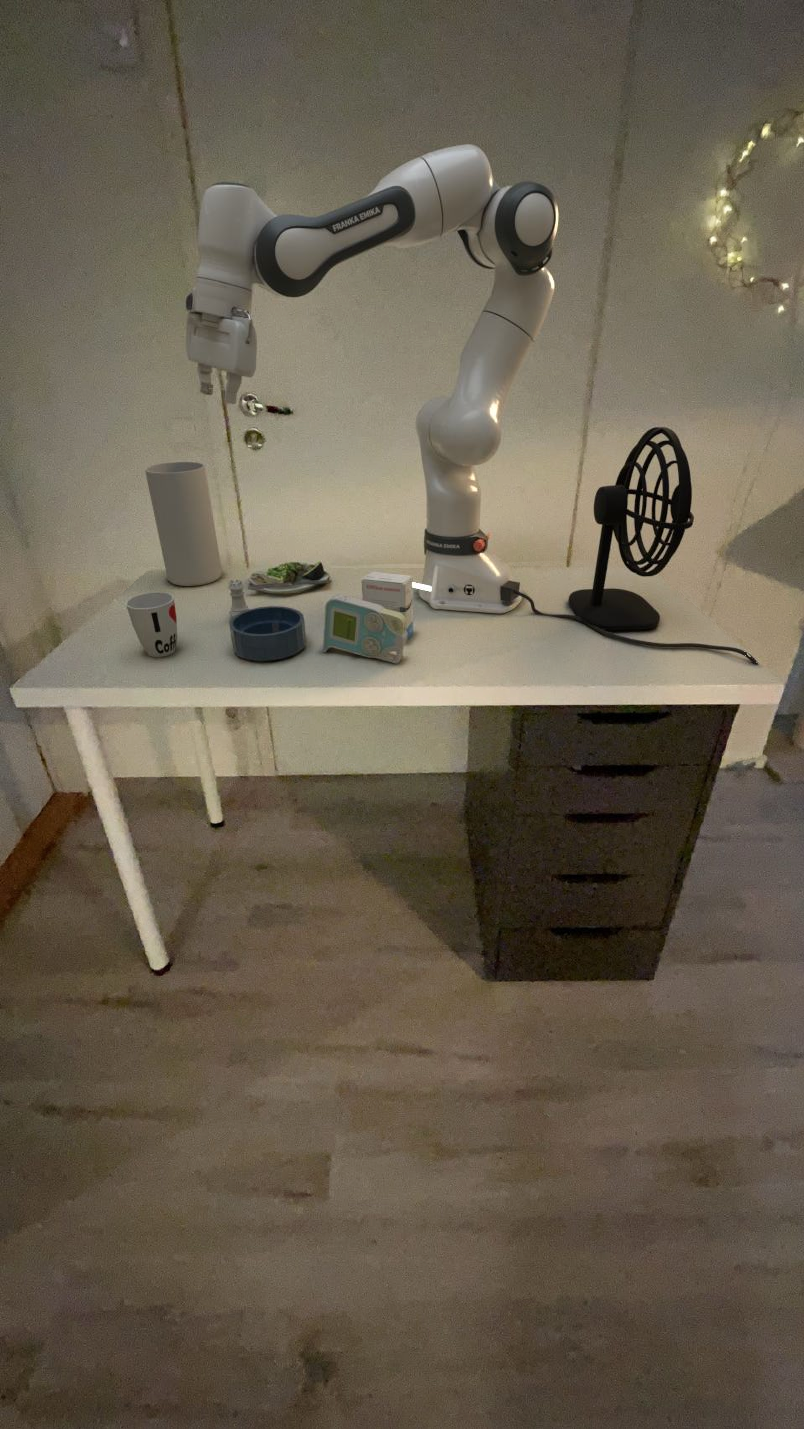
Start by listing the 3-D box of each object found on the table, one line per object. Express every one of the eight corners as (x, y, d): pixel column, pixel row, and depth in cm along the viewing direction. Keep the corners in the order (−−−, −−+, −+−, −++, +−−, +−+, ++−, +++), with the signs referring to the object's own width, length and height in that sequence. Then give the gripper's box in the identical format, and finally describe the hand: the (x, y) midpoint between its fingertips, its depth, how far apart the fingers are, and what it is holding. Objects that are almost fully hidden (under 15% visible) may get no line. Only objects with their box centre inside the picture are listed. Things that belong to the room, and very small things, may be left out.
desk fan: (687, 639, 122) (734, 439, 104) (595, 642, 122) (627, 442, 103) (634, 588, 146) (666, 417, 127) (557, 590, 145) (577, 419, 126)
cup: (158, 664, 116) (146, 612, 111) (128, 654, 120) (115, 603, 115) (193, 647, 122) (183, 597, 117) (163, 638, 126) (152, 589, 121)
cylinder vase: (222, 584, 151) (203, 471, 138) (165, 589, 148) (141, 474, 135) (222, 567, 161) (205, 460, 148) (170, 571, 159) (148, 463, 146)
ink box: (414, 633, 126) (413, 574, 120) (405, 643, 122) (405, 583, 116) (373, 627, 129) (370, 570, 123) (363, 637, 125) (360, 578, 119)
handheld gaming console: (397, 675, 116) (321, 652, 119) (403, 668, 118) (328, 646, 122) (405, 618, 110) (325, 596, 113) (411, 612, 112) (332, 591, 115)
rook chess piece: (247, 624, 131) (241, 586, 127) (226, 622, 132) (220, 585, 128) (255, 615, 135) (250, 578, 131) (235, 614, 136) (229, 577, 131)
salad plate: (265, 606, 139) (263, 585, 136) (230, 583, 151) (227, 564, 149) (342, 586, 149) (341, 566, 146) (303, 566, 161) (301, 547, 159)
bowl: (319, 639, 125) (317, 612, 122) (281, 669, 114) (277, 640, 111) (260, 628, 129) (257, 602, 126) (218, 656, 119) (214, 628, 116)
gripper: (270, 315, 101) (261, 411, 107) (215, 306, 114) (210, 392, 121) (232, 305, 97) (225, 406, 104) (180, 297, 110) (177, 387, 117)
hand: (217, 398), depth 112 cm, fingers open, 8 cm apart
